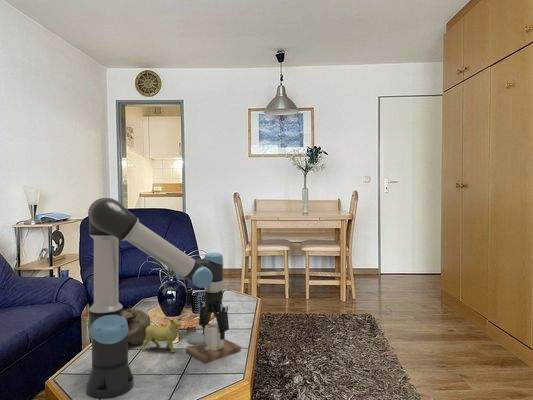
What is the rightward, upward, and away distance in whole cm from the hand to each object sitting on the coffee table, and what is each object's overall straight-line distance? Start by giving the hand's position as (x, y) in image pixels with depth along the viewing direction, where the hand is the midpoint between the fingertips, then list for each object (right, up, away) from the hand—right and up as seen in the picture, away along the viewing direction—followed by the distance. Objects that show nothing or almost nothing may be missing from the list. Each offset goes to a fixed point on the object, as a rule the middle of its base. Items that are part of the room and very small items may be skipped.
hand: (213, 344), depth 173 cm
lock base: (0, -3, 0) cm, 3 cm away
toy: (-21, -3, +1) cm, 21 cm away
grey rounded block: (0, -1, 0) cm, 1 cm away
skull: (-38, -3, +9) cm, 39 cm away
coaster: (-8, -2, +13) cm, 16 cm away
